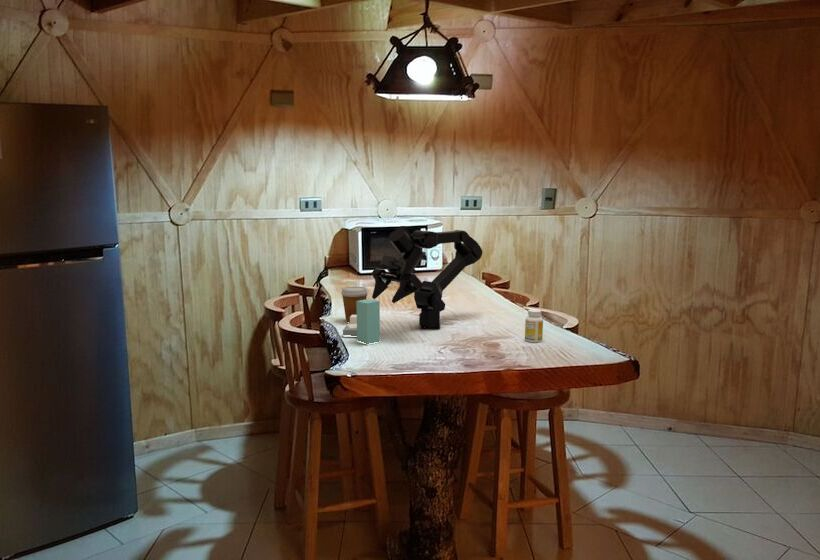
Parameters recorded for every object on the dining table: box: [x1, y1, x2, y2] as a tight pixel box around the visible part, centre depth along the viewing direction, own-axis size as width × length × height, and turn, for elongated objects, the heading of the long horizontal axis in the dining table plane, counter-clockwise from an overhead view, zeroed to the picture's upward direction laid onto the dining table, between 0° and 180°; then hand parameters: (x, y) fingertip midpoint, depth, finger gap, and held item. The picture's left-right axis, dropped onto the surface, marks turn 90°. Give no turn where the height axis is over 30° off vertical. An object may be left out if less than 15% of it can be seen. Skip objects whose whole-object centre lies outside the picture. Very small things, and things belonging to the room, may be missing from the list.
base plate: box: [342, 315, 357, 336], centre depth 205 cm, size 8×14×4 cm, turn 175°
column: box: [356, 298, 381, 344], centre depth 192 cm, size 5×5×13 cm
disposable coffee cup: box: [340, 285, 369, 322], centre depth 219 cm, size 10×10×12 cm
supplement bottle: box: [524, 308, 544, 343], centre depth 193 cm, size 5×5×10 cm
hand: (382, 300), depth 195 cm, fingers open, 9 cm apart
